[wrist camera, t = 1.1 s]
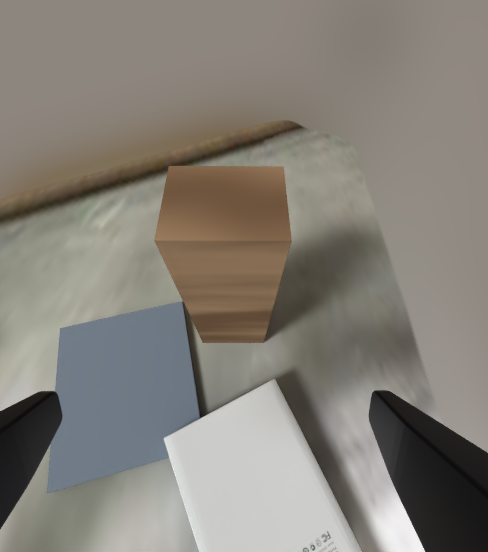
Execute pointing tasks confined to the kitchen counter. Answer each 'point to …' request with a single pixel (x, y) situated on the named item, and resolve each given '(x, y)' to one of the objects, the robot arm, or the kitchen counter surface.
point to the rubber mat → (121, 393)
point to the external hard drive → (256, 481)
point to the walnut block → (226, 246)
